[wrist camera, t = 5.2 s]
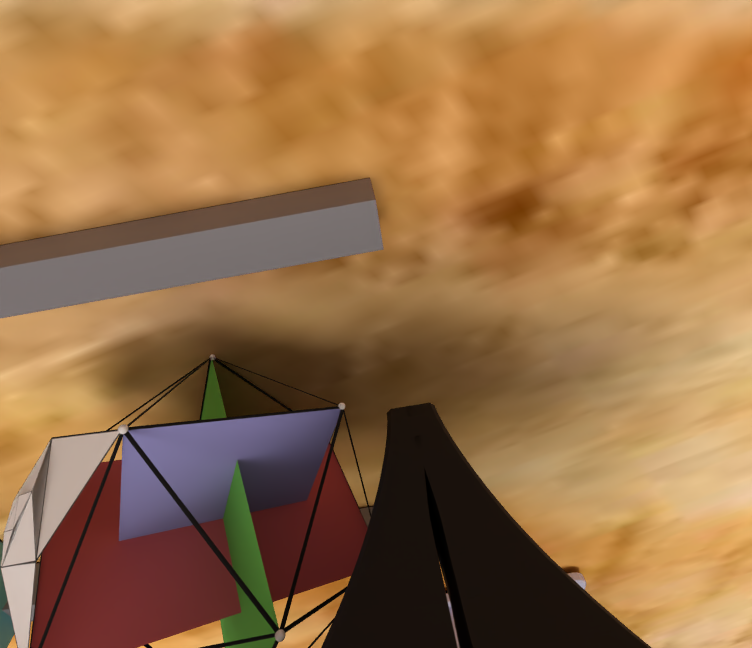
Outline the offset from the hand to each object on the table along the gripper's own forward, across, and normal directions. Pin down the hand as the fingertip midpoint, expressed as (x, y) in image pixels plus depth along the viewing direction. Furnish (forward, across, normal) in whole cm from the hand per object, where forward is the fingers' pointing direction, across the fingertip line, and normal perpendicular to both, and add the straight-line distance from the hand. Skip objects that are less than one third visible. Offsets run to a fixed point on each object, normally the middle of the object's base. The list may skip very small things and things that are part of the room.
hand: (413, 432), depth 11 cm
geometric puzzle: (+2, +5, 0) cm, 5 cm away
